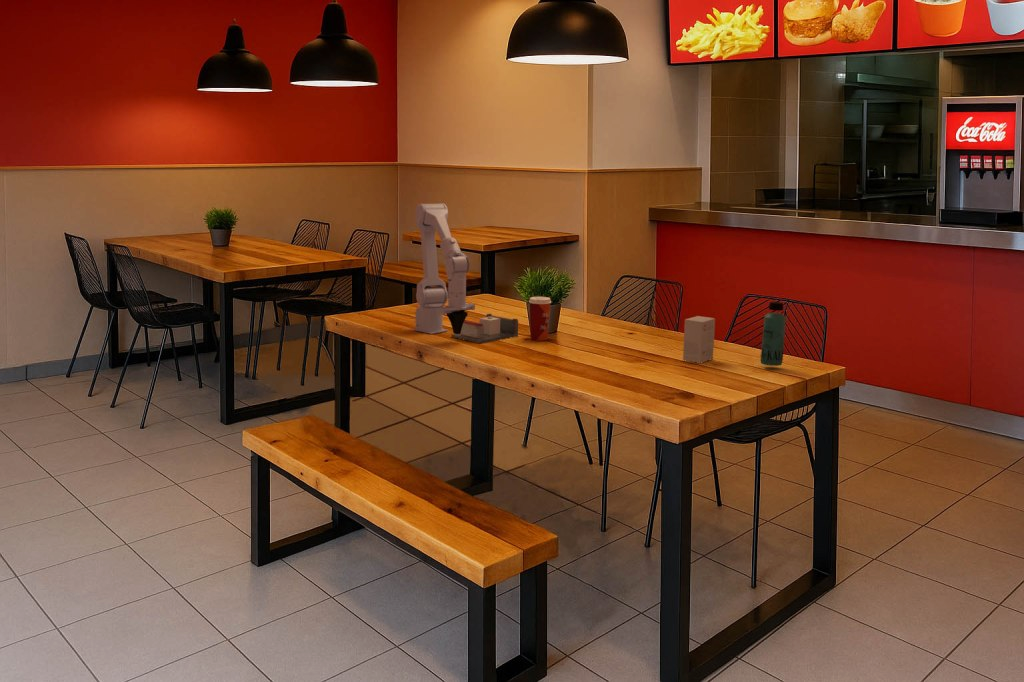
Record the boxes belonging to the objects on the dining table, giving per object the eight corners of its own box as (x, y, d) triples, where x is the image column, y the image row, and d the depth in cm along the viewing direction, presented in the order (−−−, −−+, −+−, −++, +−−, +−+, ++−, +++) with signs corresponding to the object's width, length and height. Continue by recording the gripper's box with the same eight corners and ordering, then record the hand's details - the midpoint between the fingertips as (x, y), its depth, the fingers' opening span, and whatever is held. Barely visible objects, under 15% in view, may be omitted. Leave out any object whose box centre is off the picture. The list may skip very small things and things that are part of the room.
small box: (695, 356, 289) (697, 315, 287) (713, 359, 285) (715, 318, 283) (682, 360, 283) (684, 319, 281) (700, 364, 279) (703, 321, 277)
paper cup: (548, 342, 307) (549, 300, 304) (525, 340, 309) (526, 299, 306) (552, 337, 315) (553, 296, 312) (530, 336, 316) (530, 295, 313)
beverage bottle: (764, 364, 280) (768, 299, 276) (785, 367, 276) (790, 301, 272) (756, 368, 274) (761, 302, 270) (778, 372, 271) (783, 304, 267)
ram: (459, 334, 311) (459, 320, 310) (466, 333, 313) (466, 319, 312) (478, 338, 305) (478, 324, 304) (484, 337, 307) (484, 323, 306)
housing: (479, 332, 315) (479, 316, 314) (489, 330, 319) (489, 315, 318) (489, 335, 312) (489, 318, 311) (500, 333, 315) (500, 316, 314)
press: (451, 337, 312) (451, 319, 311) (489, 330, 325) (489, 313, 324) (480, 343, 303) (480, 325, 302) (517, 336, 316) (518, 319, 314)
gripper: (448, 296, 293) (448, 338, 296) (481, 291, 304) (481, 332, 307) (434, 293, 298) (434, 335, 301) (466, 289, 308) (466, 329, 311)
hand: (456, 333), depth 304 cm, fingers closed
